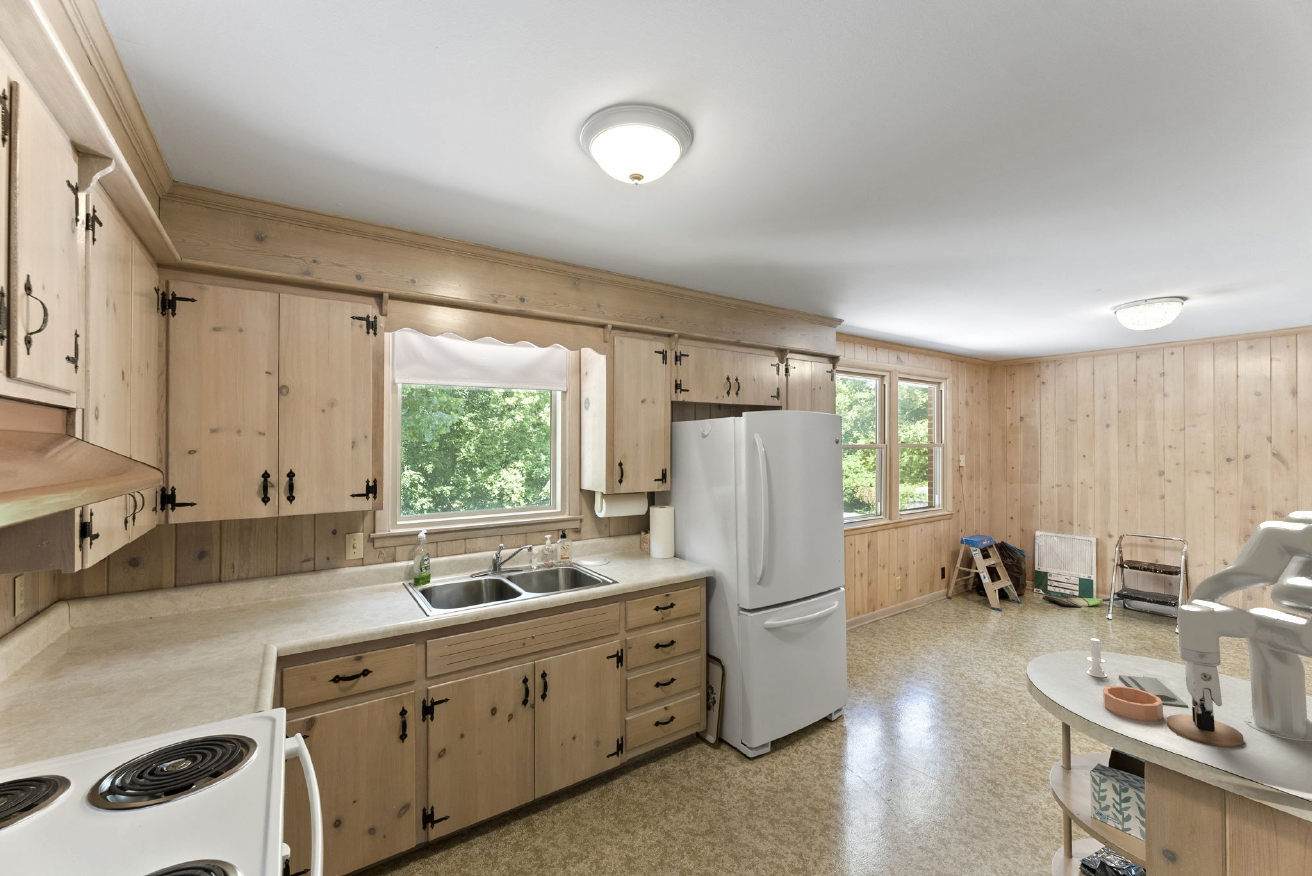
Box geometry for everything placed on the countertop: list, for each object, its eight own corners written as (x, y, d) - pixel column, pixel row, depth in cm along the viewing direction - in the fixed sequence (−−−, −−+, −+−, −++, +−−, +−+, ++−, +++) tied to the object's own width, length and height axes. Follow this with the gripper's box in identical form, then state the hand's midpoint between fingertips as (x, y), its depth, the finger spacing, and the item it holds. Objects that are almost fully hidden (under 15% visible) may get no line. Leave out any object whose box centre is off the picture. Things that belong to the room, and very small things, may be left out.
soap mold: (1158, 684, 173) (1158, 673, 174) (1191, 713, 155) (1190, 700, 155) (1118, 680, 177) (1117, 669, 178) (1144, 707, 159) (1144, 695, 159)
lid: (1232, 726, 144) (1231, 702, 144) (1252, 752, 132) (1251, 726, 132) (1161, 714, 152) (1160, 691, 152) (1174, 737, 140) (1172, 713, 140)
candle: (1086, 669, 185) (1085, 633, 185) (1107, 673, 181) (1105, 636, 182) (1086, 675, 181) (1084, 638, 181) (1107, 679, 177) (1105, 641, 178)
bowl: (1157, 709, 157) (1156, 691, 157) (1167, 728, 146) (1166, 709, 146) (1101, 699, 163) (1100, 682, 164) (1107, 717, 153) (1106, 699, 153)
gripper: (1230, 668, 134) (1235, 745, 133) (1209, 647, 147) (1213, 716, 147) (1188, 663, 138) (1192, 737, 137) (1172, 642, 151) (1176, 710, 151)
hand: (1203, 725), depth 142 cm, fingers closed on lid, 3 cm apart
